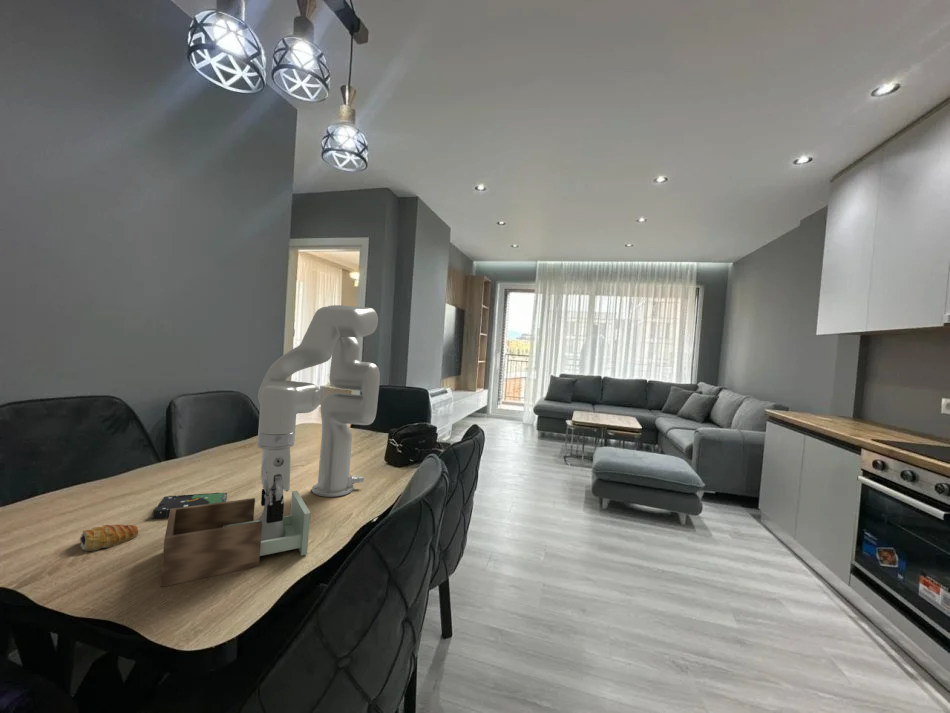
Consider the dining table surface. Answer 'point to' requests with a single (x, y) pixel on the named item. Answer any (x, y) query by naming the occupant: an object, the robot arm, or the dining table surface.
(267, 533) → the flask
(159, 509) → the disk drive
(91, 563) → the dining table surface
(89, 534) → the pastry
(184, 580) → the caddy
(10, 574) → the dining table surface
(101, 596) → the dining table surface
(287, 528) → the tray
